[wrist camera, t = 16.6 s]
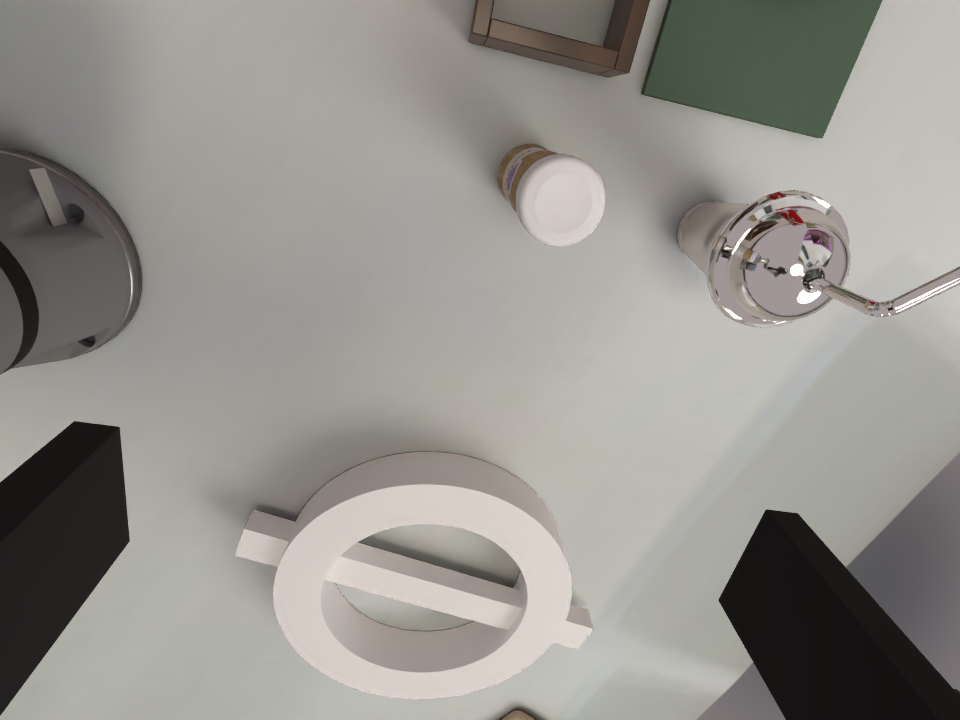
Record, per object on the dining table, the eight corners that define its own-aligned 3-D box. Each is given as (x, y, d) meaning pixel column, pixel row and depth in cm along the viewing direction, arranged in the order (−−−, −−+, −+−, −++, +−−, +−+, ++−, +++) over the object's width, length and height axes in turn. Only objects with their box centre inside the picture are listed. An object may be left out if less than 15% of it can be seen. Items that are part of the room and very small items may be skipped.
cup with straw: (650, 185, 40) (817, 241, 22) (769, 163, 40) (1037, 201, 22) (653, 291, 44) (799, 416, 25) (763, 272, 43) (989, 383, 25)
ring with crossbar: (232, 508, 50) (212, 545, 46) (511, 411, 48) (517, 441, 43) (362, 684, 62) (355, 726, 57) (592, 614, 59) (604, 653, 55)
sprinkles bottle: (499, 141, 38) (524, 153, 26) (562, 146, 39) (614, 159, 26) (494, 206, 40) (515, 246, 28) (554, 210, 40) (600, 250, 28)
